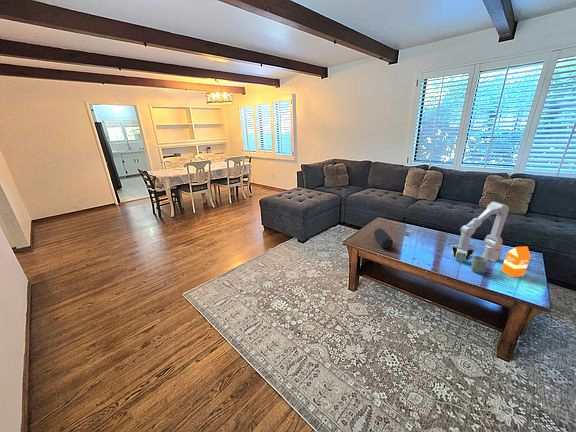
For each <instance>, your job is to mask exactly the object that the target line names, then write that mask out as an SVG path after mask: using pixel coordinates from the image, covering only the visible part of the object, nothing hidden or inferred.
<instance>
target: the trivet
mask: <svg viewBox="0 0 576 432" xmlns="http://www.w3.org/2000/svg"><path fill="white" fill-rule="evenodd" d="M458 252H463V253H466V255H467V251H466V250H464V249H457V252H456V256H457V253H458ZM450 255H452V256H454V253H453V250H452V251H450ZM466 255H465V259H464V260H467V259H466ZM472 255H473V253H472V254H471V255H470V256H469V257H468V258H470V257H472ZM456 256H455V257H456Z"/></svg>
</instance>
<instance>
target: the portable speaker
mask: <svg viewBox="0 0 576 432" xmlns="http://www.w3.org/2000/svg"><path fill="white" fill-rule="evenodd" d="M373 234H374V238H375V239H376V240H377V242H378V243H379V245H380V246H381V247H382V248H384V249H389V248H391V247H392V245H393V243H394V240H393V239H392V238H391V236H390V235H389V234H388V233H387V232H386V231H385V229H382V228H376V229H375V230H374V232H373Z"/></svg>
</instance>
